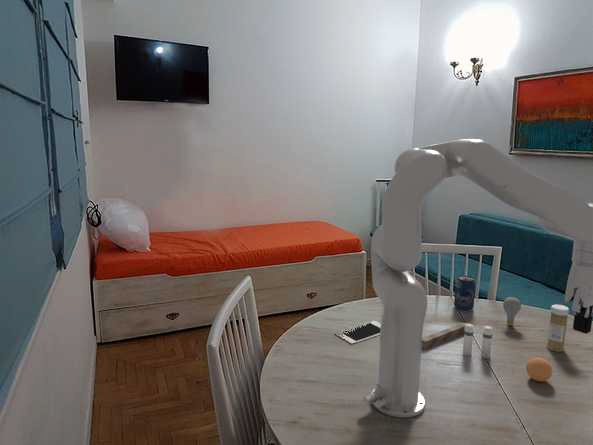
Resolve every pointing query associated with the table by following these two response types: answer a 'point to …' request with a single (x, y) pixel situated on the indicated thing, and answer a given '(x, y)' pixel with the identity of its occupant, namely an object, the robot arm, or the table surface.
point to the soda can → (464, 293)
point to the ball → (539, 369)
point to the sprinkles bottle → (557, 328)
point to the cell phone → (363, 332)
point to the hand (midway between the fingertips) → (581, 330)
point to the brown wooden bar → (443, 336)
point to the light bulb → (511, 309)
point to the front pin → (486, 342)
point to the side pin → (468, 339)
